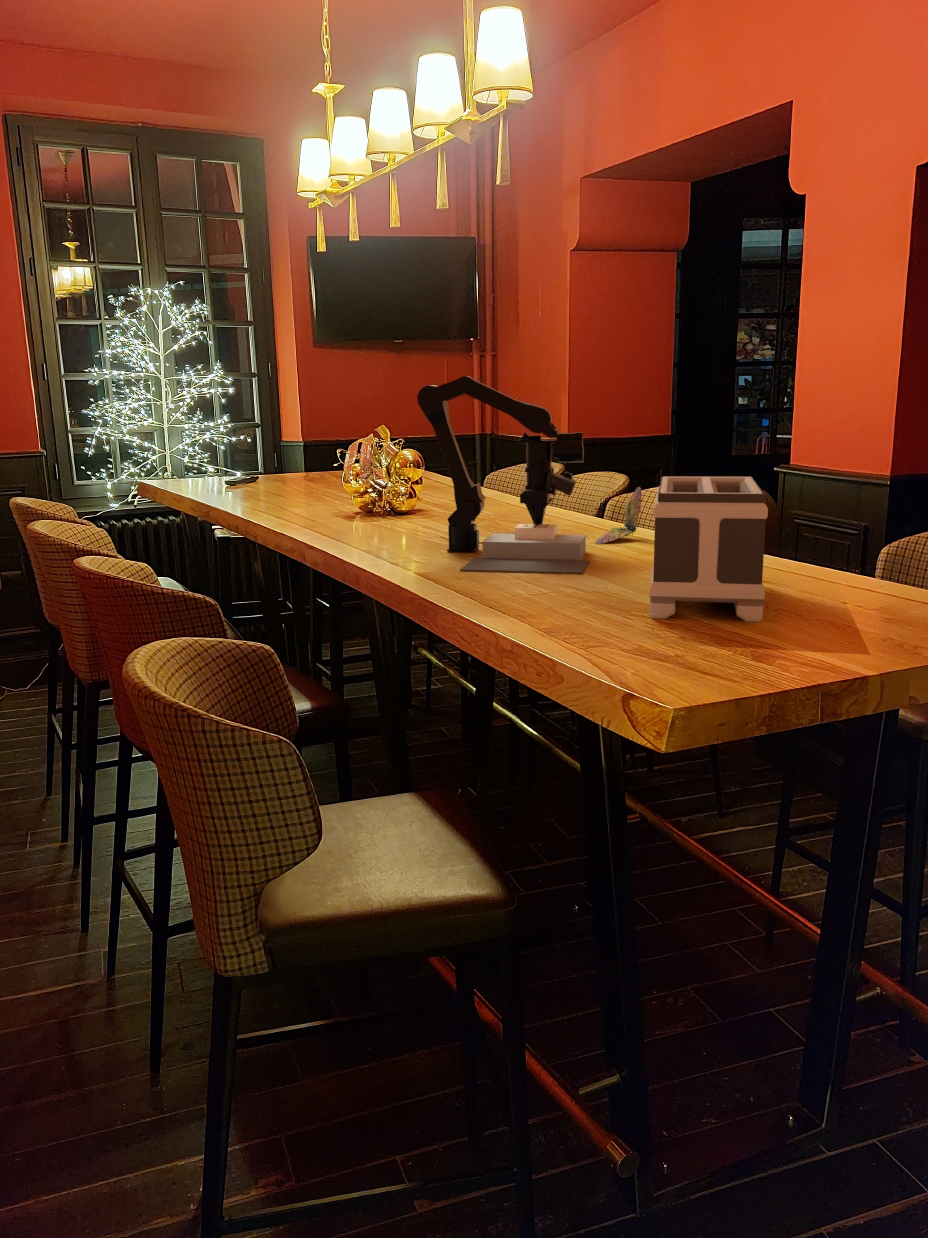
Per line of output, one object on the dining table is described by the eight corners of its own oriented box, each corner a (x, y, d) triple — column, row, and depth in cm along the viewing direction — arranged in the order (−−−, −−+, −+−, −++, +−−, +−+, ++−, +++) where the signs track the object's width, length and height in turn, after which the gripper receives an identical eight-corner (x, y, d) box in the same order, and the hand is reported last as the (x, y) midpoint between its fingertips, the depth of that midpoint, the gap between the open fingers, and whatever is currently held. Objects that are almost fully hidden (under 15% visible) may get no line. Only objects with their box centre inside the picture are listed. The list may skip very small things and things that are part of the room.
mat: (459, 571, 203) (459, 569, 203) (473, 559, 216) (473, 557, 216) (582, 574, 197) (582, 572, 197) (589, 561, 210) (589, 560, 210)
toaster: (749, 581, 188) (755, 473, 182) (763, 624, 155) (771, 494, 150) (654, 579, 192) (657, 473, 186) (648, 620, 159) (652, 493, 154)
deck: (482, 559, 216) (482, 541, 215) (492, 550, 227) (492, 533, 226) (580, 561, 211) (580, 543, 210) (585, 551, 222) (585, 534, 221)
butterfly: (647, 492, 242) (619, 474, 238) (666, 503, 233) (637, 484, 229) (610, 550, 245) (581, 532, 241) (627, 562, 237) (597, 545, 232)
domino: (514, 538, 218) (514, 527, 217) (518, 534, 224) (518, 523, 223) (553, 539, 216) (553, 527, 216) (557, 535, 222) (557, 524, 221)
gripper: (569, 466, 210) (569, 536, 213) (577, 459, 227) (577, 524, 231) (519, 466, 212) (519, 535, 216) (531, 459, 230) (531, 523, 233)
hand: (538, 529), depth 224 cm, fingers closed
